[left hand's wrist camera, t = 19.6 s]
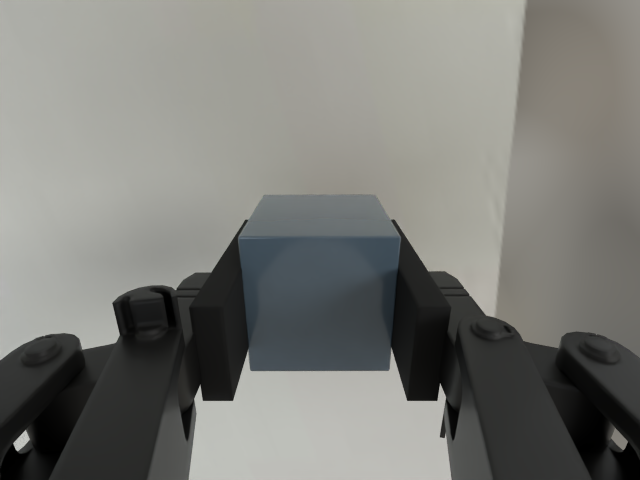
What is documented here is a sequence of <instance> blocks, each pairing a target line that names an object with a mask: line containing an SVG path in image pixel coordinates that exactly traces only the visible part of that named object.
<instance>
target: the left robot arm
mask: <svg viewBox="0 0 640 480" xmlns="http://www.w3.org/2000/svg"><path fill="white" fill-rule="evenodd" d="M247 222H248V220H245V222H244V223H243V225H242V226H241V228H240V229H239V231H238V232H237V234H236V235H235V237H234V239H233V240H232V242H231V243H230V245H229V246H228V248H227V249H226V251H225V252H224V254H223V255H222V257H221V259H220V260H219V262H218V263H217V265H216V266H215V268H214V269H213V271H212V272H211V273H194V274H193V275H191V276H189V277H188V278H186V279H184V280H183V281H182V283H181V284H180V285H179V286H178V288H177V290H174V289H173V288H172V287H168V286H163V285H159V286H147V287H141V288H137V289H134V290H131V291H129V292H127V293H125V294H123V295H121V296H119V297H118V298H117V299H116V300H115V301H114V302H113V307H114V312H115V316H116V320H117V324H118V328H119V333H120V336H119V338H118V340H117V342H116V343H114V344H110V345H105V346H100V347H95V348H89V349H84V350H82V347H81V343H80V340H79V338H78V337H76V336H75V335H72V334H66V333H62V334H50V335H45V336H42V337H38V338H36V339H34V340H32V341H30V342H28V343H25V344H23V345H22V346H20V347H18V348H17V349H15V350H14V351H12V352H11V353H9V354H8V355H7V356H6V357H4V358H3V359H2V360H0V480H188V479H189V471H190V462H191V454H192V446H193V438H194V429H195V421H196V408H195V402H194V398H195V395H196V393H197V391H198V388H199V386H200V384H201V391H202V398H203V401H233V399H234V395H235V392H236V389H237V385H238V382H239V378H240V375H241V372H242V368H243V365H244V361H245V358H246V355H247V351H248V336H247V325H246V314H245V303H244V291H243V280H242V269H241V265H240V254H239V243H238V237H239V235H240V233H241V232H242V230H243V228H244V227H245V225H246V224H247ZM391 222H392V223H393V225H394V227H395V228H396V230H397V232H398V233H399V235H400V237H401V242H400V253H399V265H398V277H397V288H396V300H395V312H394V323H393V335H392V350H393V354H394V357H395V361H396V364H397V367H398V371H399V374H400V378H401V381H402V384H403V388H404V391H405V395H406V398H407V401H437V399H438V393H439V386H440V384H441V386H442V388H443V391H444V393H445V395H446V402H445V408H444V414H443V420H442V426H441V433H440V437H442V438H445V433H446V437H447V445H448V453H449V461H450V470H451V478H452V480H640V358H639V357H638V356H636V355H635V354H634V353H632V352H631V351H630V350H628V349H627V348H625V347H624V346H622V345H620V344H619V343H617V342H615V341H612V340H610V339H608V338H606V337H604V336H601V335H596V334H594V333H585V332H572V333H566V334H565V335H564V336H562V338H561V341H560V345H559V348H554V347H549V346H543V345H538V344H533V343H529V342H525V341H523V340H522V338H521V336H520V334H519V333H518V332H517V330H516V329H515V328H514V327H512V326H511V325H509V324H508V323H506V322H504V321H502V320H499V319H497V318H494V317H489V316H486V315H485V314H484V312H483V311H482V310H481V309H480V307H479V306H478V305H477V304H476V302H475V301H474V300H473V299H472V297H471V296H469V293H468V292H467V291H466V290H465V289H464V287H463V286H462V285H461V283H460V282H459V281H458V279H456V278H455V277H453V276H451V275H450V274H448V273H446V272H428V270H427V269H426V267H425V266H424V264H423V263H422V261H421V260H420V258H419V257H418V255H417V254H416V252H415V250H414V249H413V247H412V246H411V244H410V243H409V241H408V240H407V238H406V237H405V235H404V233H403V232H402V230H401V229H400V227H399V226H398V224H397V223H396V221H395V220H391ZM615 428H616V429H617V430H618V431H619V432H620V433H621V434H622V435H623V436H624V438H626V440H627V441H628V443H627V446H626V448H625V449H624V450H622V449H621V448H620V447H618V446H617V445H616V443H615V442H614V441H613V440H612V439H611V437H612V434H613V432H614V429H615ZM25 430H26V431H27V433H28V436H29V438H30V440H29V441H28V443H27V444H26V445H25V446H24V447H23V448H22V449H20V450H19V451H16V449H15V447H14V445H13V443H14V442H15V441H16V440H17V438H18V437H19V436H20V435H21V434H22V433H23V432H24V431H25Z"/></svg>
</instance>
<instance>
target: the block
mask: <svg viewBox="0 0 640 480" xmlns="http://www.w3.org/2000/svg"><path fill="white" fill-rule="evenodd" d="M400 242H401V237H400V235H399V233H398V232H397V230H396V228H395V227H394V225H393V223H392V222H391V220H390V218H389V217H388V215H387V213H386V212H385V210H384V208H383V207H382V205H381V203H380V202H379V200H378V198H377V197H376V195H264V196H263V197H262V199H261V201H260V202H259V204H258V206H257V207H256V209H255V210H254V212H253V214H252V215H251V217H250V219H249V220H248V222H247V224H246V225H245V227H244V228H243V230H242V232H241V233H240V235H239V237H238V243H239V254H240V265H241V269H242V280H243V291H244V303H245V314H246V325H247V336H248V352H249V363H250V370H251V371H389V369H390V359H391V347H392V335H393V323H394V312H395V300H396V288H397V277H398V265H399V253H400Z"/></svg>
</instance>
